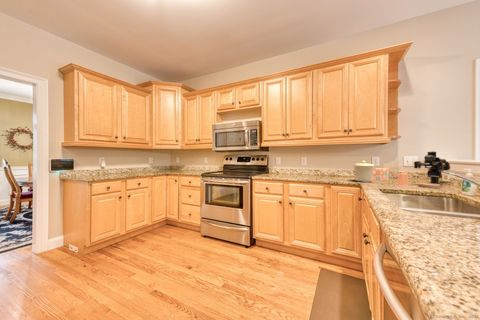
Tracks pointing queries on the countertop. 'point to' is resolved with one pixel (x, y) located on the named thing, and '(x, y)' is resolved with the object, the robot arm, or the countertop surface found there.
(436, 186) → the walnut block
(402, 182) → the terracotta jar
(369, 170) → the canister
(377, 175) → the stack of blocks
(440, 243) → the countertop surface
